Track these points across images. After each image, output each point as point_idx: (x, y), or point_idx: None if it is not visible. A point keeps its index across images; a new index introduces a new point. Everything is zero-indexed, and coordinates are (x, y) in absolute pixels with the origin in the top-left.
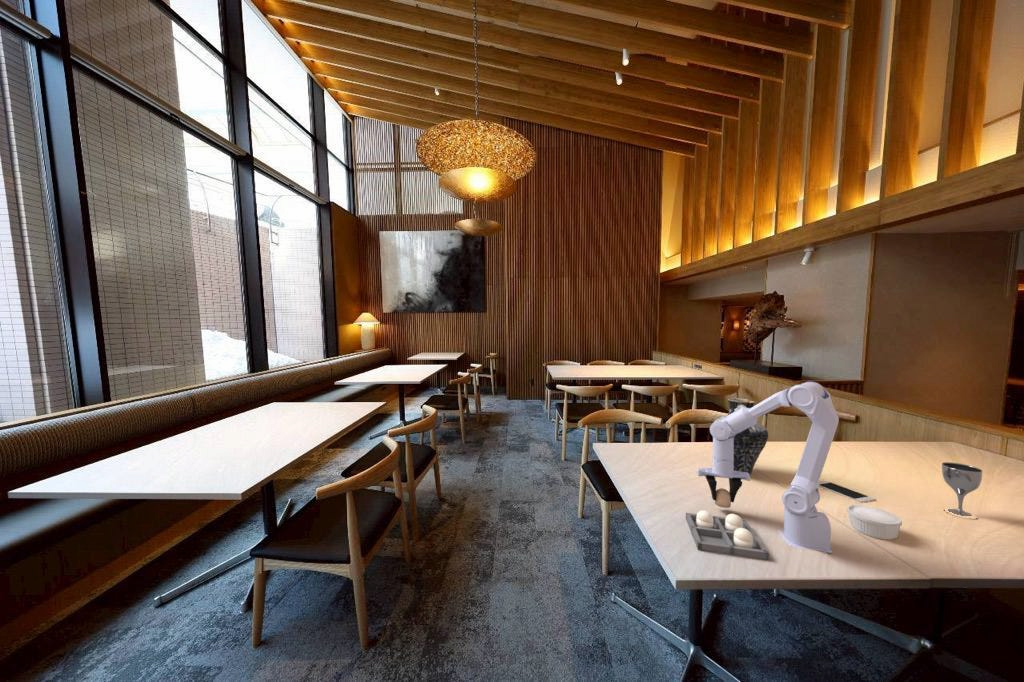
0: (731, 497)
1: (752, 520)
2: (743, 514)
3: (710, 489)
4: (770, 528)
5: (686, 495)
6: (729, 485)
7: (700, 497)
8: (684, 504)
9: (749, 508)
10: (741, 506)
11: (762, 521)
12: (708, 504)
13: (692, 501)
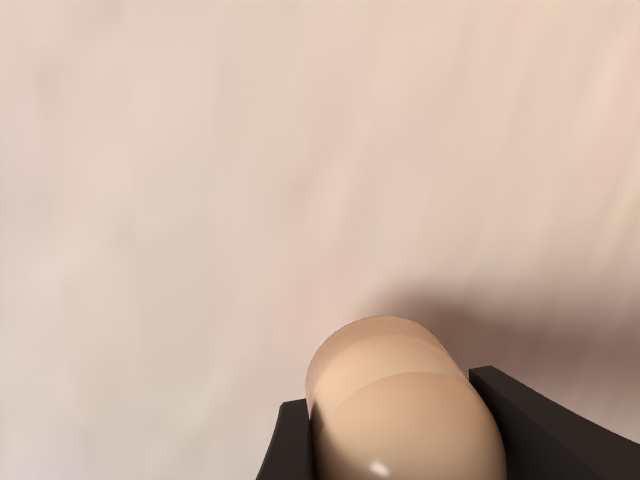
0: None
1: (552, 358)
2: (519, 287)
3: (261, 473)
4: (625, 419)
5: (16, 60)
6: (590, 469)
7: (180, 56)
8: (30, 307)
9: (611, 143)
10: (554, 126)
11: (617, 344)
12: (256, 210)
13: (100, 204)
